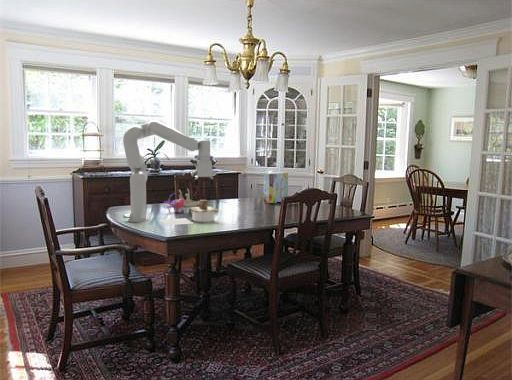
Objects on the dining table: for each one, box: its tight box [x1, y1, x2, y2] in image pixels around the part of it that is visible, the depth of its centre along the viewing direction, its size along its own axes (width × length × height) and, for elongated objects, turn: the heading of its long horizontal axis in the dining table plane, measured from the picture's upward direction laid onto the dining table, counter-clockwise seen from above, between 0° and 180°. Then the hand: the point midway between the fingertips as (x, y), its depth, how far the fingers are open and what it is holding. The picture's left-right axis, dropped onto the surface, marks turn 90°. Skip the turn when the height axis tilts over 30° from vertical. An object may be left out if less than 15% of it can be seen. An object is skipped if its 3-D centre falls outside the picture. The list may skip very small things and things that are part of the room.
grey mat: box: [159, 217, 195, 226], centre depth 272 cm, size 18×18×1 cm
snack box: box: [262, 171, 289, 204], centre depth 366 cm, size 22×9×26 cm, turn 130°
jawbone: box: [178, 187, 199, 208], centre depth 333 cm, size 25×10×14 cm, turn 52°
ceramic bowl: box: [191, 210, 215, 223], centre depth 280 cm, size 13×13×7 cm
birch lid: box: [188, 199, 219, 213], centre depth 279 cm, size 15×15×6 cm
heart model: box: [163, 192, 185, 213], centre depth 307 cm, size 15×9×18 cm
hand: (203, 185), depth 277 cm, fingers open, 9 cm apart
